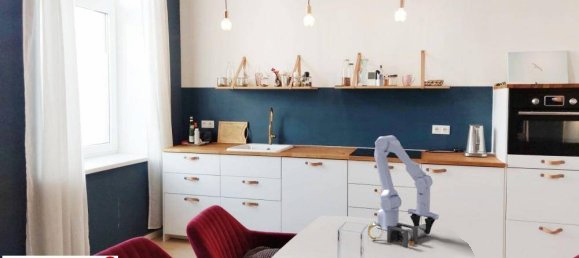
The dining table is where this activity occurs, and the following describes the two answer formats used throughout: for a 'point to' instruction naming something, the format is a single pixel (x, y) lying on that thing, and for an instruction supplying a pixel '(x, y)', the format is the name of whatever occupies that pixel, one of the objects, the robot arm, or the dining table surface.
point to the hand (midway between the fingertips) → (422, 232)
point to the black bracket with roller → (395, 230)
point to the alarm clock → (372, 227)
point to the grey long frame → (410, 232)
